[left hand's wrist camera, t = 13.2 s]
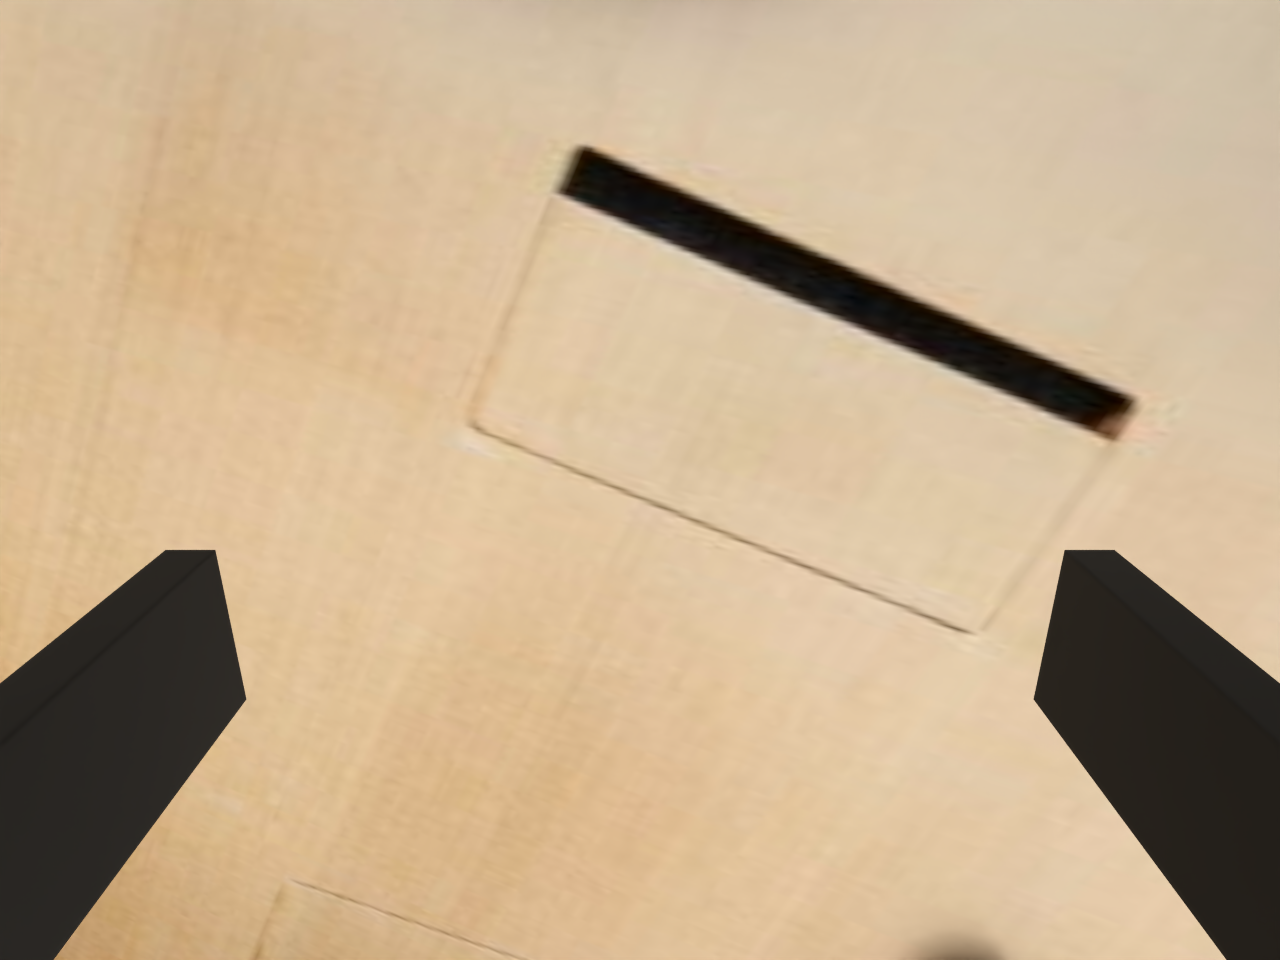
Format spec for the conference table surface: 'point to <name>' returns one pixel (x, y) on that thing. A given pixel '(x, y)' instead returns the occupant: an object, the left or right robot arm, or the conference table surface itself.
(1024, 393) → the conference table surface
